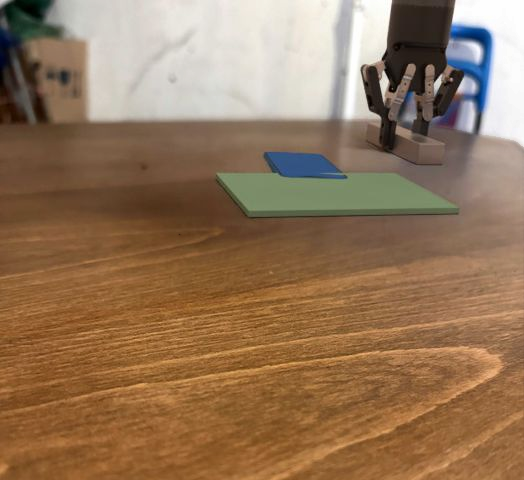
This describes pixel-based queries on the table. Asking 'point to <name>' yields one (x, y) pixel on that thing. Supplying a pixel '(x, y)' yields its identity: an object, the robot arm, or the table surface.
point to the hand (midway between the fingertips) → (401, 148)
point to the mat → (331, 195)
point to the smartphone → (302, 165)
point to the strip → (410, 145)
